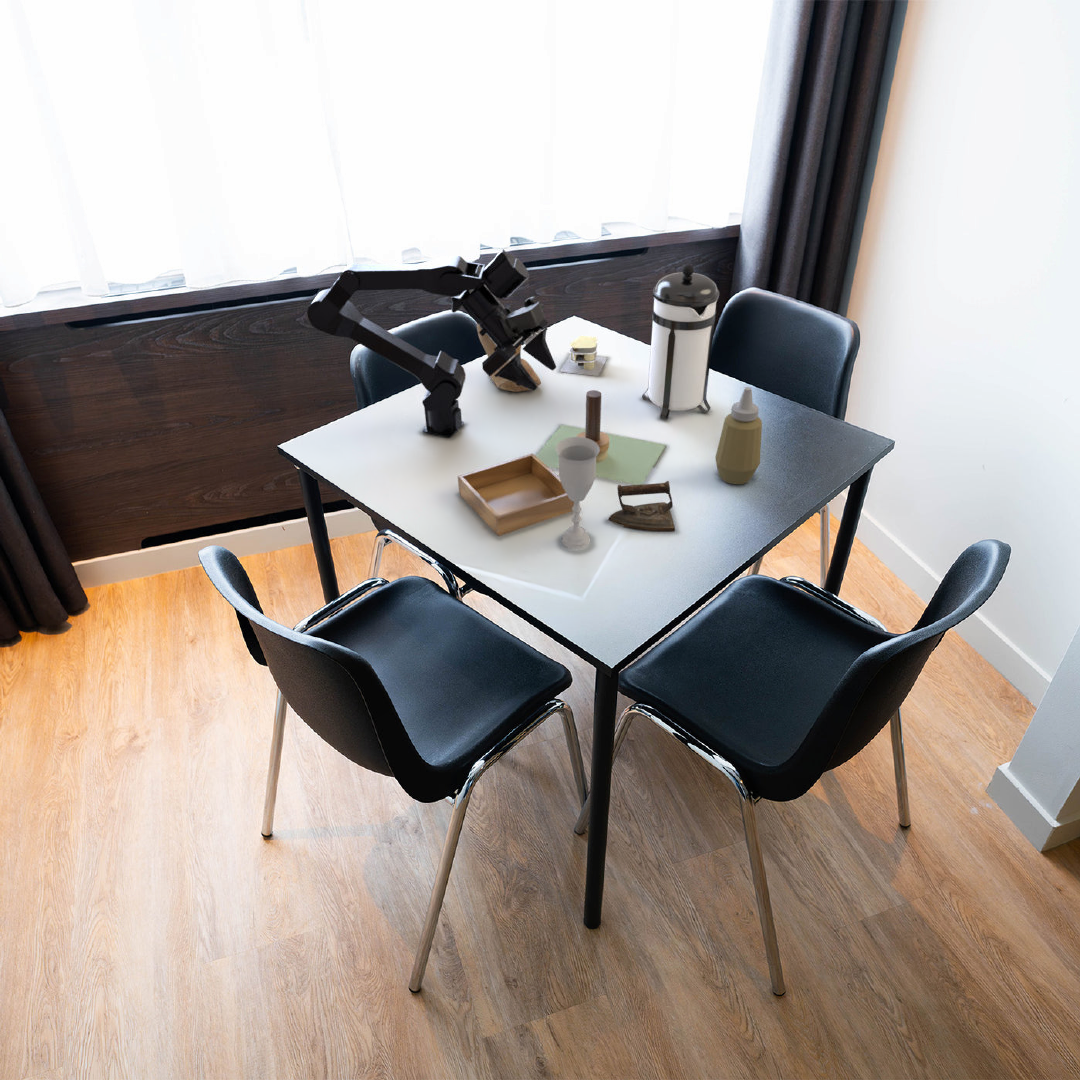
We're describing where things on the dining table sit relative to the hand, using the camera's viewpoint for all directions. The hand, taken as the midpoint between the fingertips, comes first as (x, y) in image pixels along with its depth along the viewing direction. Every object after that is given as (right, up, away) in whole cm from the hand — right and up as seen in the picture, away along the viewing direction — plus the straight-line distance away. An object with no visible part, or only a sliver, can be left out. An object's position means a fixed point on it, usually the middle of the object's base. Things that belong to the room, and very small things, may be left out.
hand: (545, 378), depth 159 cm
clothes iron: (+16, -27, -14) cm, 35 cm away
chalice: (+5, -31, -19) cm, 37 cm away
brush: (+9, -14, +3) cm, 17 cm away
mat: (+10, -14, +4) cm, 18 cm away
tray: (-5, -24, -9) cm, 26 cm away
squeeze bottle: (+35, -19, -3) cm, 40 cm away
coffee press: (+27, -1, +21) cm, 34 cm away
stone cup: (-8, +5, +30) cm, 32 cm away
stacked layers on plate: (+9, +10, +37) cm, 39 cm away
